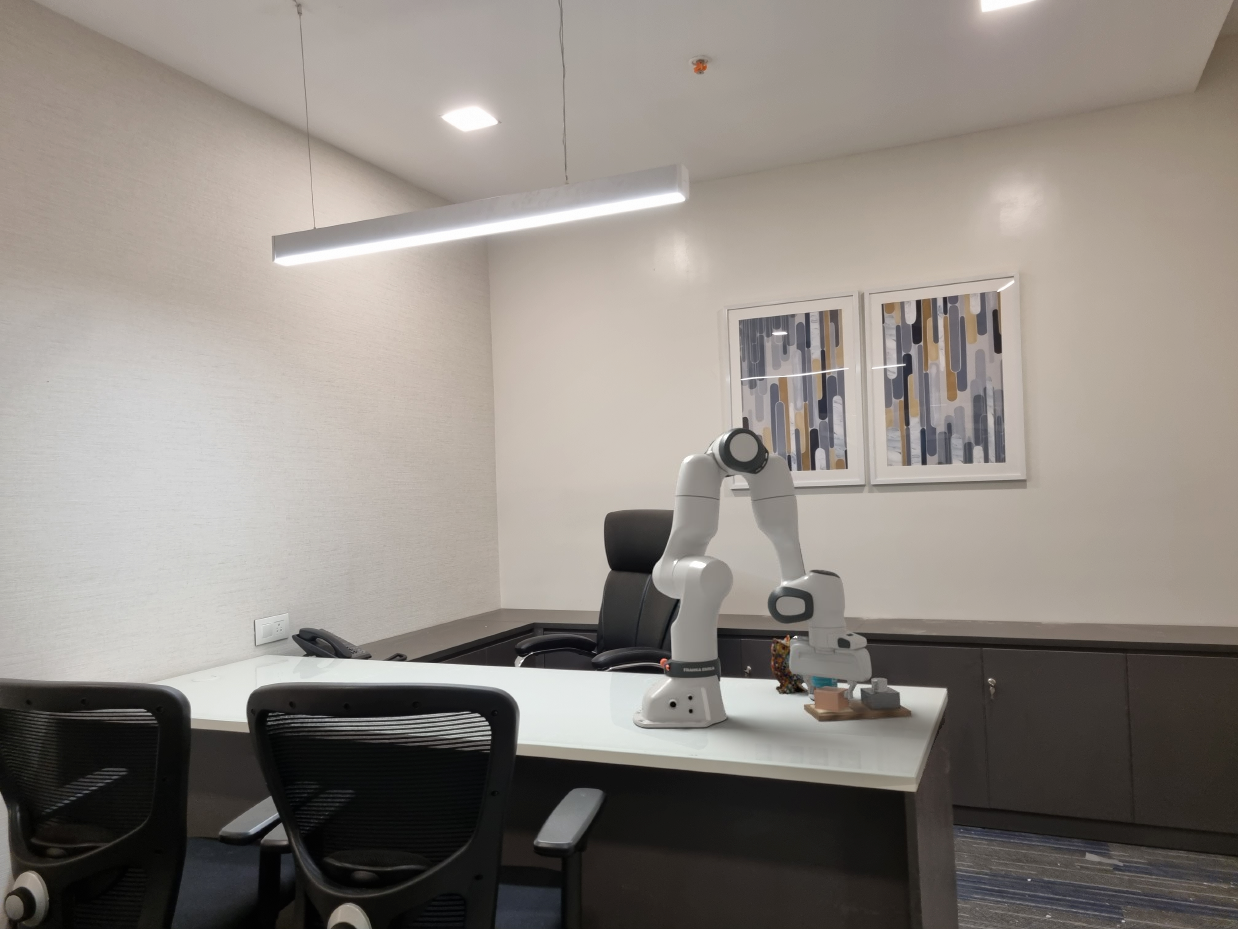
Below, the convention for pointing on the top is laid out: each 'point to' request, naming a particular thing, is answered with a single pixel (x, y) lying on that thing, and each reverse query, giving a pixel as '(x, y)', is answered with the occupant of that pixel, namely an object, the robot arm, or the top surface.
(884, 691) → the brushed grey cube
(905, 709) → the board
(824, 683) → the pill bottle
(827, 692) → the salmon pink block
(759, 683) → the top surface
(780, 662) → the figurine
